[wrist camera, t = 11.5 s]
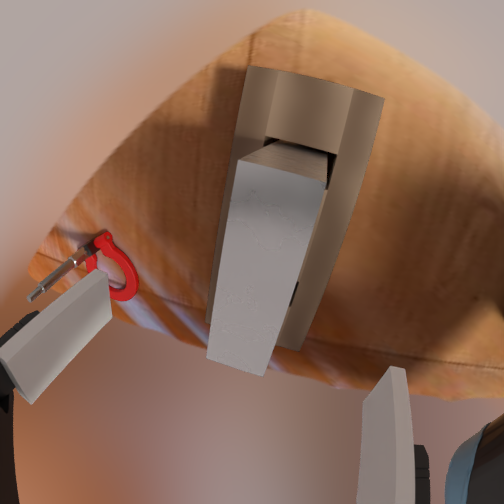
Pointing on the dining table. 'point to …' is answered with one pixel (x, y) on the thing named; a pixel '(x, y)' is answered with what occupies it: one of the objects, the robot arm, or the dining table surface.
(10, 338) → the robot arm
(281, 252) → the clip
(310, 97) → the slotted wooden block
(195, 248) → the dining table surface
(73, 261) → the tow hook
